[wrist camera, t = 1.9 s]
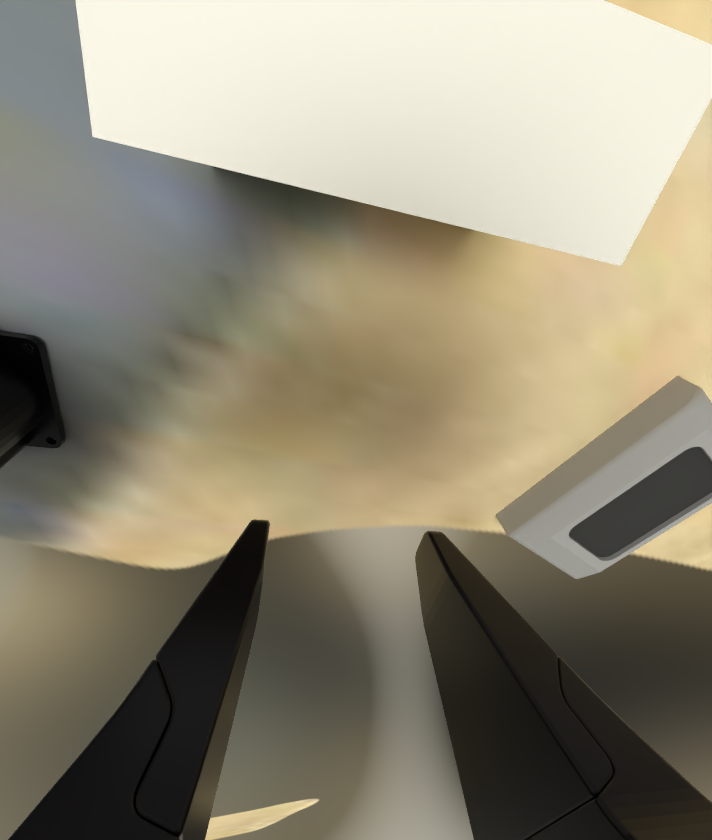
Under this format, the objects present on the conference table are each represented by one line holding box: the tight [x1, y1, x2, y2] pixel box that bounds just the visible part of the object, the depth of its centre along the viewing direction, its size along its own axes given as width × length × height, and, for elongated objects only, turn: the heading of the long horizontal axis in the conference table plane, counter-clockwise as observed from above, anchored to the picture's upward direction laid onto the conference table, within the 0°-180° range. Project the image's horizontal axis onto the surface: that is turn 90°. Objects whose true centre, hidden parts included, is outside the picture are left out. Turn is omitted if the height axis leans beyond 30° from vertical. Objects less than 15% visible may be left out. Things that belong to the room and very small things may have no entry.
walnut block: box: [76, 0, 712, 266], centre depth 11 cm, size 4×12×10 cm, turn 78°
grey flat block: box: [496, 376, 712, 579], centre depth 27 cm, size 10×4×15 cm
